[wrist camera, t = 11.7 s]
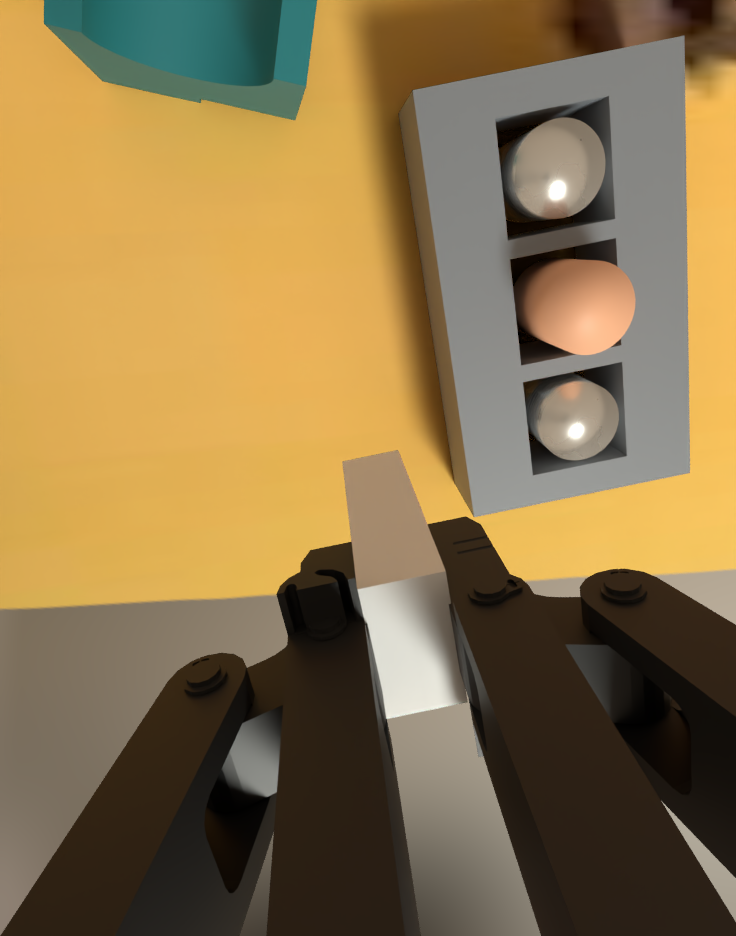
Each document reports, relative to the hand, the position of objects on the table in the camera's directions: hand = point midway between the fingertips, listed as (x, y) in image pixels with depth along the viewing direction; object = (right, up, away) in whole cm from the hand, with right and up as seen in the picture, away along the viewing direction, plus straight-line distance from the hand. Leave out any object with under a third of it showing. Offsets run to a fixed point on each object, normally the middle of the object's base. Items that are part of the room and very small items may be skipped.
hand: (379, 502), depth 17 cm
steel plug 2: (+12, +6, +27) cm, 30 cm away
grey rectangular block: (+11, +12, +25) cm, 29 cm away
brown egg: (+11, +11, +22) cm, 27 cm away
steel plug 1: (+9, +19, +22) cm, 30 cm away
